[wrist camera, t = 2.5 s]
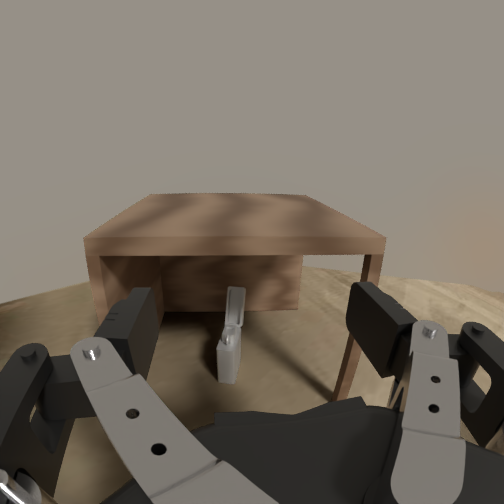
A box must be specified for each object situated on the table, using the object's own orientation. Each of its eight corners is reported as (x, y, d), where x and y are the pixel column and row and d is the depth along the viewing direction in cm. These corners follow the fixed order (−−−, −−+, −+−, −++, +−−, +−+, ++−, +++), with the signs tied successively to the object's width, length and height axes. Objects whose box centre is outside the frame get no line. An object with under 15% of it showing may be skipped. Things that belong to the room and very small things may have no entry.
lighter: (234, 384, 27) (235, 317, 24) (217, 382, 27) (214, 315, 24) (244, 343, 33) (246, 282, 31) (229, 342, 33) (229, 281, 31)
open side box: (127, 413, 21) (83, 237, 16) (159, 307, 40) (150, 194, 35) (344, 404, 24) (386, 237, 18) (295, 305, 42) (305, 195, 37)
